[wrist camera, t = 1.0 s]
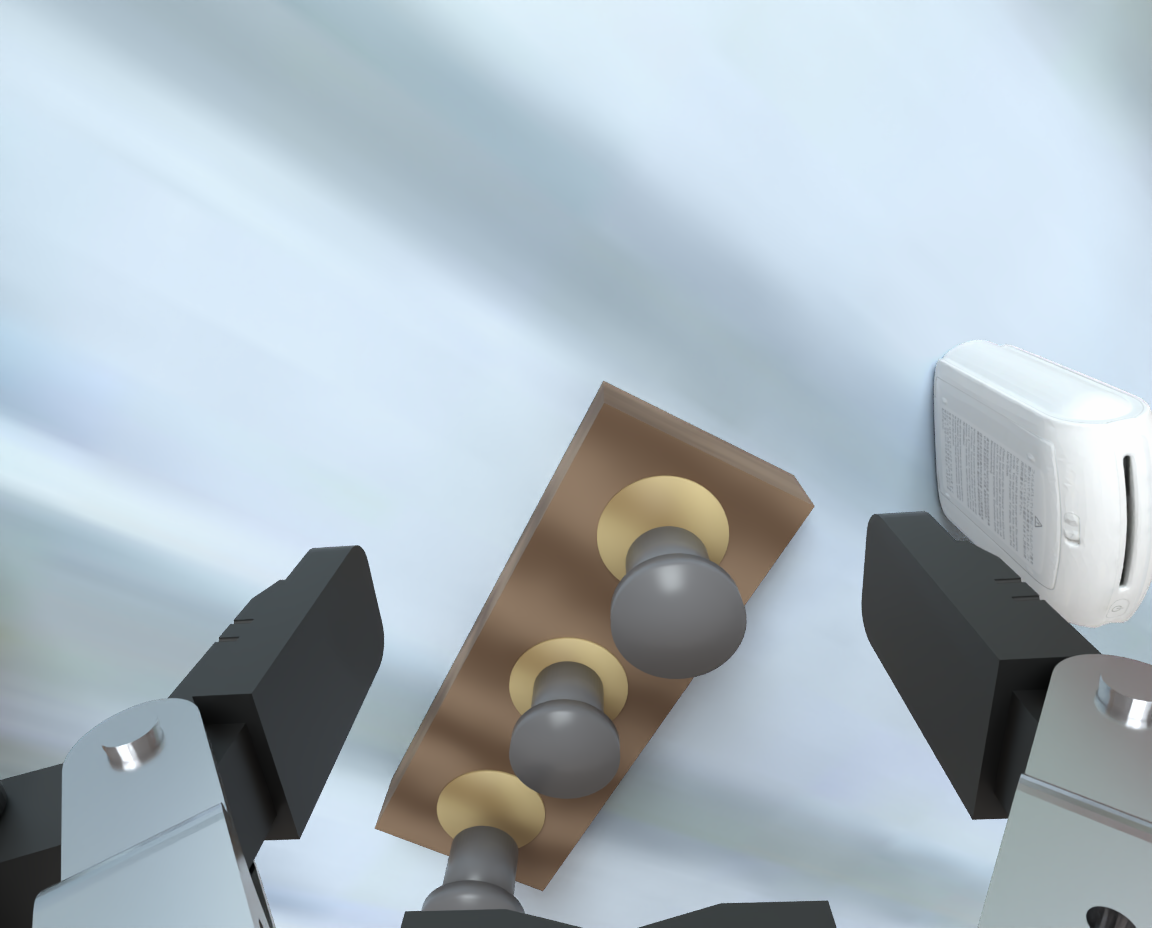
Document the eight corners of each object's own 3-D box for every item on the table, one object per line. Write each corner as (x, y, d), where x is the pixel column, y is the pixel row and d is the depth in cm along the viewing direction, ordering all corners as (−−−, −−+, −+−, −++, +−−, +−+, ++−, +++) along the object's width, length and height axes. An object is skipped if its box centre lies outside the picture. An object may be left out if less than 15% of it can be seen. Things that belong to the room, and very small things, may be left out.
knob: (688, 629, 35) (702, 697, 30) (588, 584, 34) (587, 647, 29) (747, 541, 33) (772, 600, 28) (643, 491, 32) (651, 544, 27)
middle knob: (589, 741, 41) (588, 812, 36) (503, 706, 40) (491, 774, 35) (635, 673, 39) (640, 739, 34) (545, 634, 38) (538, 696, 33)
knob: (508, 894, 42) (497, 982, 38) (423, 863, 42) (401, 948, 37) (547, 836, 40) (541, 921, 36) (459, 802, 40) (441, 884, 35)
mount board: (547, 838, 50) (542, 893, 46) (391, 778, 48) (373, 831, 44) (793, 475, 39) (815, 507, 35) (603, 380, 37) (604, 404, 33)
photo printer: (1012, 506, 39) (1183, 640, 28) (933, 521, 40) (1070, 659, 28) (1010, 329, 35) (1208, 399, 24) (924, 348, 36) (1077, 425, 24)
